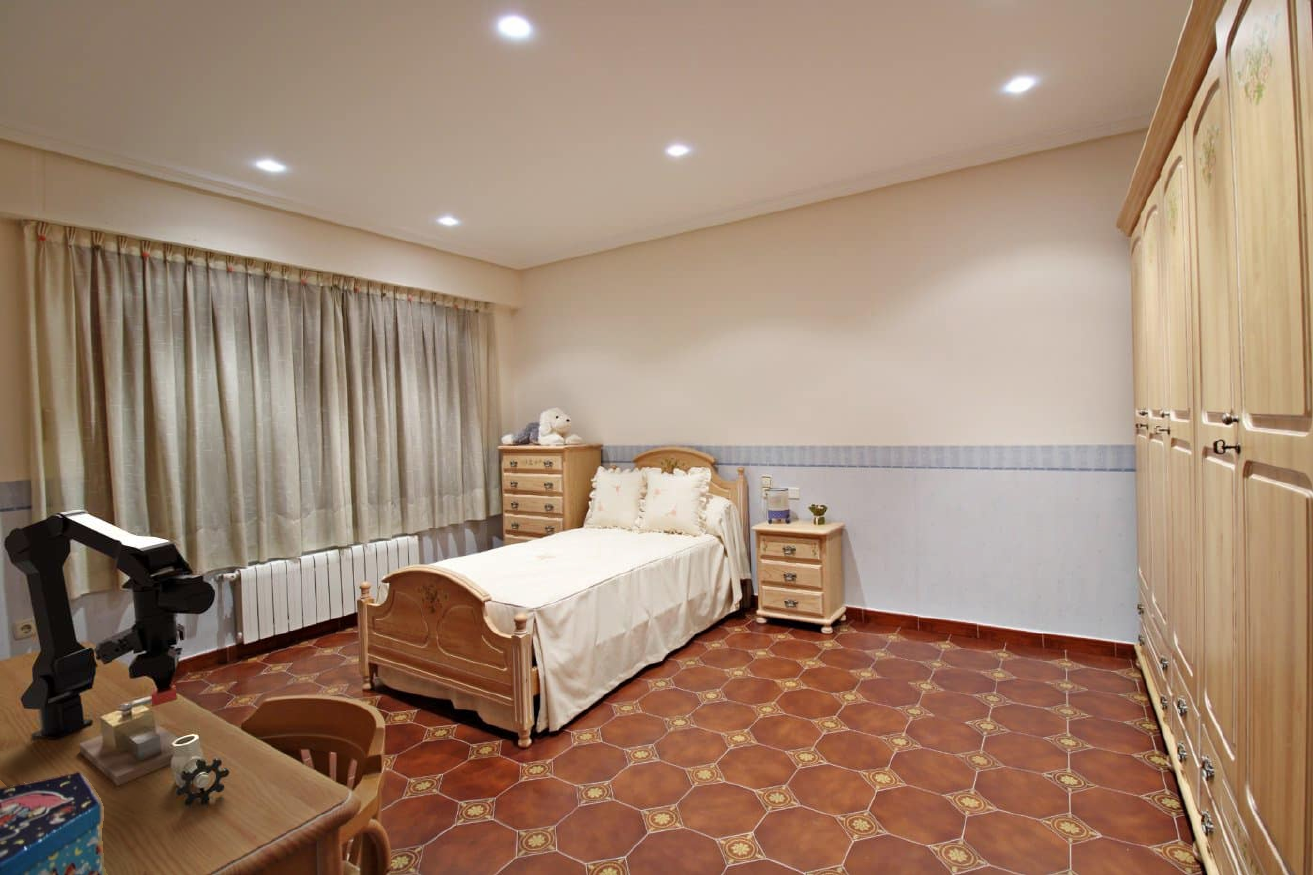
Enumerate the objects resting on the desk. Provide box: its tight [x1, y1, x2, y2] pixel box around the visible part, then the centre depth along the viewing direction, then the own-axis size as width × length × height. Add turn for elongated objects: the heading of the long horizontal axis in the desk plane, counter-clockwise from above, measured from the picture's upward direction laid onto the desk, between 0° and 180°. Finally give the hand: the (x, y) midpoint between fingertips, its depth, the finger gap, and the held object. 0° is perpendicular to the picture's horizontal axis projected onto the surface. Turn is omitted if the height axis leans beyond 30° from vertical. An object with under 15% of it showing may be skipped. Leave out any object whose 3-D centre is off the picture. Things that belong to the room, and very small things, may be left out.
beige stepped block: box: [99, 705, 162, 761], centre depth 109 cm, size 16×6×6 cm, turn 56°
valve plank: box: [78, 722, 180, 787], centre depth 109 cm, size 20×10×2 cm, turn 56°
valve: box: [170, 734, 230, 807], centre depth 97 cm, size 7×7×12 cm
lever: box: [118, 685, 178, 711], centre depth 112 cm, size 8×2×2 cm, turn 131°
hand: (163, 694), depth 115 cm, fingers closed
